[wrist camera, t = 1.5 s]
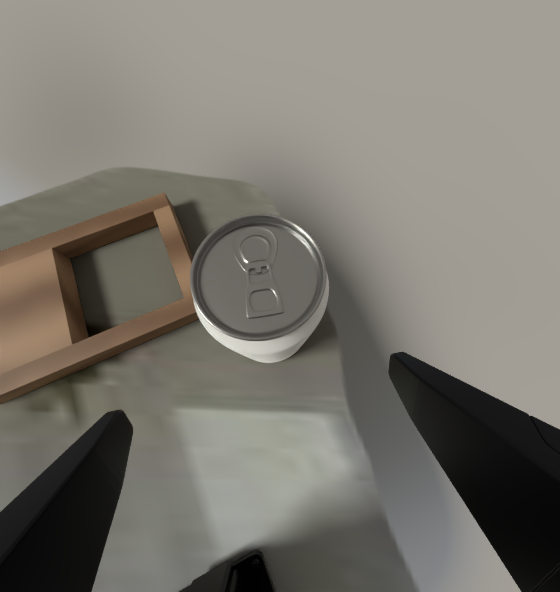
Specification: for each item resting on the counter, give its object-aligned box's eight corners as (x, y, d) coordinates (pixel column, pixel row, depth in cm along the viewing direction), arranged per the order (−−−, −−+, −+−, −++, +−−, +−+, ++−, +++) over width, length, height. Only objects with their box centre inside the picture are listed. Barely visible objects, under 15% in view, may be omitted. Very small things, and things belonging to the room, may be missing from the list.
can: (299, 284, 23) (319, 195, 11) (314, 356, 21) (354, 337, 9) (228, 295, 23) (174, 215, 11) (236, 369, 21) (182, 366, 9)
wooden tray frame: (214, 312, 22) (208, 306, 20) (0, 404, 20) (-30, 407, 18) (173, 206, 25) (164, 192, 23) (-16, 275, 23) (-43, 266, 21)
